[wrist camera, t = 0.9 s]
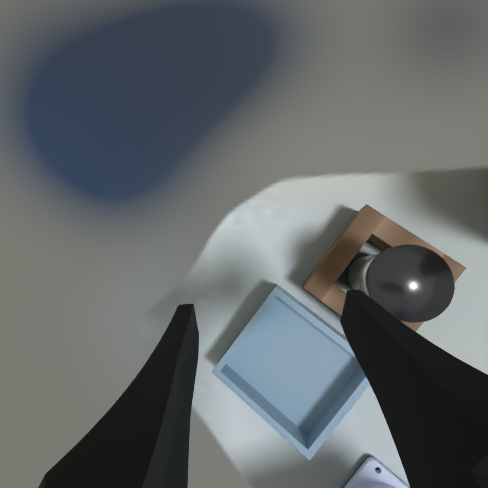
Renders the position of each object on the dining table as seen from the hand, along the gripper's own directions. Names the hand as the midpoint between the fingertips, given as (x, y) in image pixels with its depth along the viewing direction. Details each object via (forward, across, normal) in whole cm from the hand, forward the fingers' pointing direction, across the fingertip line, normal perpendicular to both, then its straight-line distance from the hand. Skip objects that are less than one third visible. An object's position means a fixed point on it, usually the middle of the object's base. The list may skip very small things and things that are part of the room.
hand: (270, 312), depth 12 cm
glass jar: (+10, -11, +7) cm, 16 cm away
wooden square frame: (+10, -11, +7) cm, 16 cm away
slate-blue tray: (+7, -4, +14) cm, 16 cm away
